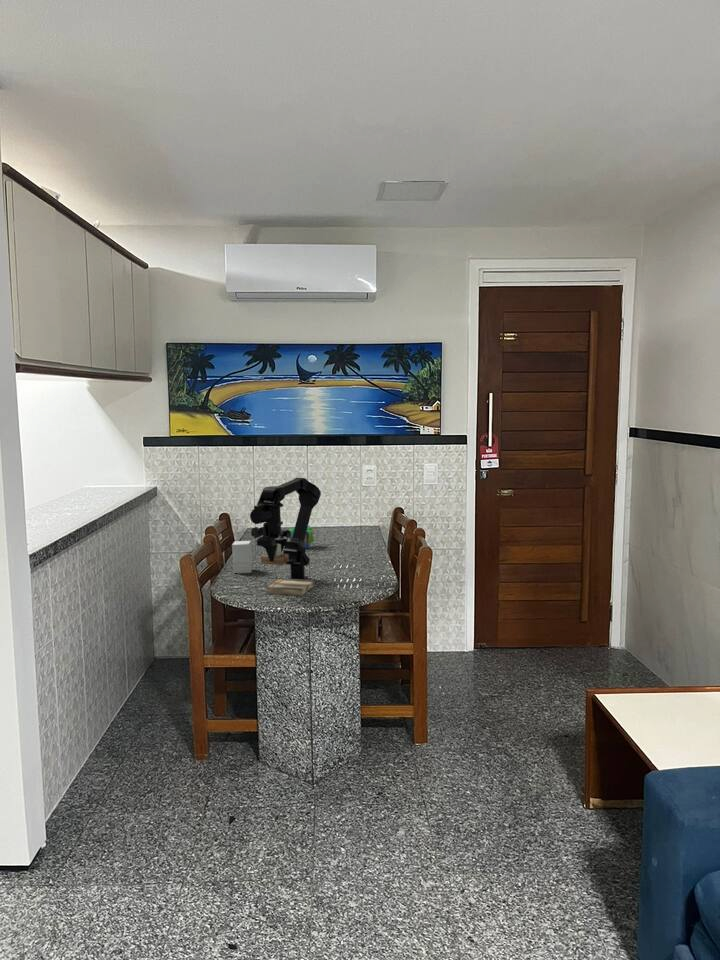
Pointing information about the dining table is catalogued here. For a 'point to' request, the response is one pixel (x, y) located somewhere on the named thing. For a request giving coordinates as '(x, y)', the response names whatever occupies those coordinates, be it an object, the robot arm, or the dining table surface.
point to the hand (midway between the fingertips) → (274, 559)
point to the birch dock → (290, 586)
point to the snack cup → (308, 536)
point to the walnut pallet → (275, 559)
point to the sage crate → (278, 550)
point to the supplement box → (242, 556)
